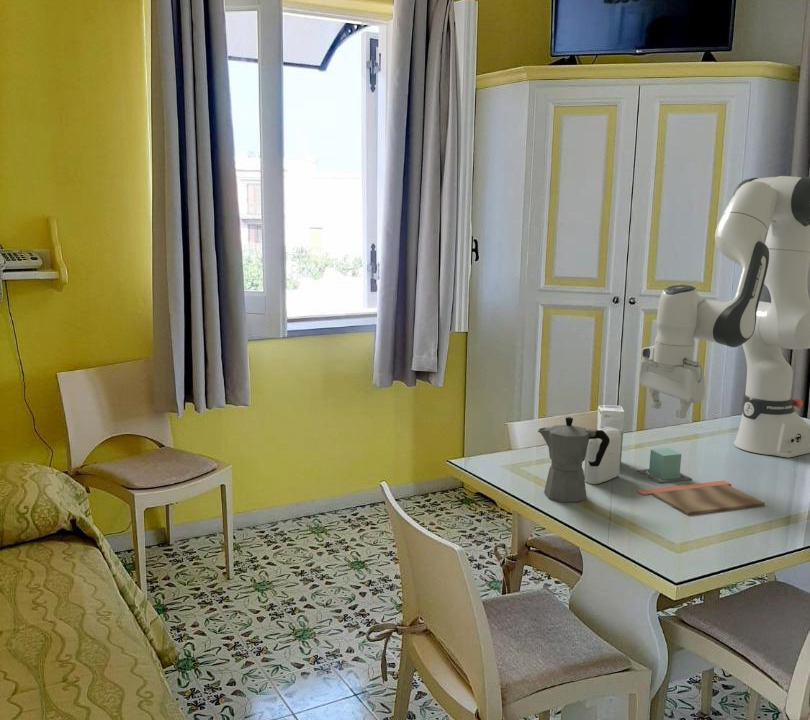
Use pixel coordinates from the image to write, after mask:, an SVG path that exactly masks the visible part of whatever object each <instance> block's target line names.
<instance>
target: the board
mask: <svg viewBox="0 0 810 720" xmlns="http://www.w3.org/2000/svg"><path fill="white" fill-rule="evenodd" d="M652 497H655V498H656V499H658V500H659V501H662V502H663V503H665V504H667V505H668V506H670V507H672V508H673V509H675V510H677V511H679V512H681V513H682V514H684V515H686V516H691V515H700V514H708V513H714V512H715V513H716V512H717V513H718V512H724V511H731V510H740V509H747V508H748V509H749V508H755V507H761V506H765V504H766V502H764V501H762V500H760V499H758V498H756V497H753V496H751V495H749V494H747V493H745V492H743V491H741V490H739V489H737V488H735V487H733V486H731V485H718V486H710V487H701V488H693V489H684V490H675V491H667V492H658V493H653V494H652Z"/></svg>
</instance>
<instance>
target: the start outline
mask: <svg viewBox="0 0 810 720" xmlns="http://www.w3.org/2000/svg"><path fill="white" fill-rule="evenodd" d="M646 471H649V468H645V469H644V468H643V469H637V470H636V472H638V473H639V472H640V474H641V473H642V475H643V474H644V475H643V476H645V475H646V476H645V477H647V476H648V477H647V478H649V479H651V480H653V481H654V480H655V482H656V481H657V482H656V483H659V484H664V483H665V484H667V483H675V482H683V481H690V480H691V481H692V480H693V478H692V477H690V476H688V475H686V474H684V473H682V472H680V477H679V478H675V479H666V480H661V479H659V478H657V477H655V476H653V475H651V474H649V472H646Z"/></svg>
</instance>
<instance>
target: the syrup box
mask: <svg viewBox="0 0 810 720" xmlns="http://www.w3.org/2000/svg"><path fill="white" fill-rule="evenodd" d="M625 413H626V412H625V410H624V408H623V407H622V406H621V405H610V404H609V405H604V404H599V405H598V407H597V420H596V430H599V429H601V428H606V427H610V428H614V429H617V430H619V432H620V433H621V455H620V467H622V466H621V465H622V454H623V451H622V450H623V439H624V429H625V427H624V426H625V417H626V415H625Z"/></svg>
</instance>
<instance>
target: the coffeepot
mask: <svg viewBox="0 0 810 720" xmlns="http://www.w3.org/2000/svg"><path fill="white" fill-rule="evenodd" d="M573 421H574V418H573V417H570V416H568V417H567V416H566V417H565V424H560V425H559V424H557V425H553V426H550V427H549V426H548V427H541V428H539V429H538V430H537V432H538V433H539V434H540V435H541V436H542V437H543V439H544V442H545V443H546V445H547V447H548V455H549V456H548V457H549V459H550V460H551V463H550V466H549V469H548V472H547V473H548V474H547V478H546V482H545V485H544V486H545V487H544V491H543V493H544V494H545V495H544V496H546V497H547V498H548V499H549V500H552V501H554V502H555V501H556V502H559V503H569V504H571V503H580V502H582V501H584V500H585V498H586V497H587V490H586V488H587V487H586V481H585V479H584V471H585V469H583V462H585V456H586V451H587V446H588V442H589V439H597V438H600V439H601V440H602V442H601V443H600V446H599V451H598V452H597V454H596V460H595V461H594V462H589V464H590V466H599V465H600V462H601V460H602V458H603V456H604V453H605V451H606V449H607V447H608V445H609V442H610V439H609V437H608V436H607V435H606V433H605V432H604V431H602V430H597V429H587V428H586V427H582V426H577V425H573ZM583 499H584V500H583Z"/></svg>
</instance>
